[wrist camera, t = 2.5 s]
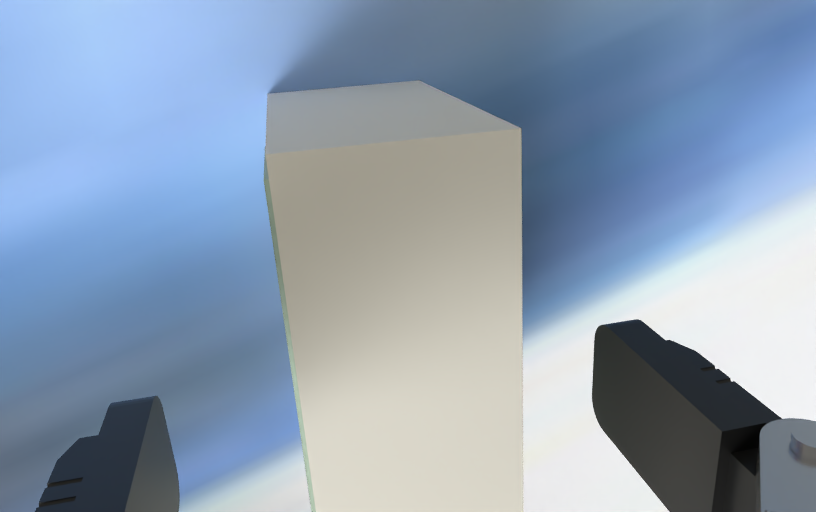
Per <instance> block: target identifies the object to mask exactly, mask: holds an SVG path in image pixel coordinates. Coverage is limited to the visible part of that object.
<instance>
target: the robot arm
mask: <svg viewBox="0 0 816 512" xmlns="http://www.w3.org/2000/svg"><path fill="white" fill-rule="evenodd" d="M592 402H593V408H594V412H595V415H596V418H597V421H598V423H599V425H600V426H601V428H602V429H603V431H604V432H605V433H606V434H607V436H608V437H609V438H610V439H611V441H612V442H613V443H614V444H615V445H616V447H617V448H618V449H619V450H620V452H621V453H622V454H623V455H624V456H625V458H626V459H627V460H628V461H629V463H630V464H631V465H632V466H633V467H634V469H635V470H636V471H637V472H638V474H639V475H640V476H641V477H642V478H643V480H644V481H645V482H646V483H647V485H648V486H649V487H650V488H651V489H652V491H653V492H654V493H655V494H656V496H657V497H658V498H659V499H660V500H661V502H662V503H663V504H664V505H665V507H666V508H667V509H668V510H669V511H670V512H816V421H811V420H806V419H795V418H788V419H782V418H780V417H779V416H778V415H776V414H775V413H774V412H773V411H771V410H770V409H769V408H768V407H766V406H765V405H764V404H762V403H761V402H760V401H759V400H757V399H756V398H755V397H754V396H752V395H751V394H750V393H748V392H747V391H746V390H745V389H743V388H742V387H741V386H740V385H738V384H737V383H736V382H734V381H733V382H731V380H730V378H729V377H728V376H727V375H726V374H724V373H723V372H722V371H720V370H719V369H715V366H714V365H713V364H712V363H710V362H709V361H708V360H707V359H705V358H704V357H703V356H701V355H700V354H699V353H698V352H696V351H694V350H692V349H690V348H687V347H685V346H683V345H680V344H678V343H676V342H673V341H671V340H667V341H666V340H664V339H663V338H662V337H661V336H660V335H658V334H657V333H656V332H655V331H653V330H652V329H651V328H650V327H649V326H647V325H646V324H645V323H644V322H642V321H641V320H630V321H624V322H618V323H611V324H605V325H601V326H599V327H598V328H597V330H596V333H595V341H594V364H593V386H592ZM47 485H48V487H47V488H45V490H44V492H43V494H42V497H41V499H40V501H39V508H36V511H35V512H178V511H179V481H178V474H177V469H176V464H175V460H174V455H173V451H172V447H171V442H170V438H169V433H168V429H167V425H166V420H165V416H164V412H163V407H162V404H161V401H160V399H159V397H158V396H152V397H146V398H140V399H134V400H128V401H121V402H115V403H111V404H110V405H109V408H108V410H107V413H106V416H105V419H104V421H103V424H102V427H101V430H100V432H99V435H96V436H91V437H85V438H79V439H78V440H77V441H76V442H75V443H74V444H73V445H72V446H71V447H70V448H69V449H68V450H67V451H66V452H65V453H64V454H63V455H62V456H61V457H60V458H59V459H58V460H57V462H56V464H55V467H54V469H53V471H52V474H51V476H50V478H49V481H48V483H47Z"/></svg>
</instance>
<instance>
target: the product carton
mask: <svg viewBox="0 0 816 512" xmlns="http://www.w3.org/2000/svg"><path fill="white" fill-rule="evenodd" d="M264 185H265V192H266V199H267V206H268V213H269V220H270V227H271V234H272V240H273V247H274V254H275V261H276V268H277V275H278V282H279V289H280V296H281V303H282V310H283V317H284V324H285V331H286V337H287V344H288V351H289V358H290V365H291V372H292V379H293V386H294V393H295V400H296V407H297V414H298V421H299V427H300V434H301V441H302V448H303V455H304V462H305V469H306V476H307V483H308V490H309V497H310V504H311V511H312V512H523V346H522V148H521V128H519V127H517V126H515V125H513V124H511V123H509V122H507V121H505V120H502V119H500V118H498V117H496V116H494V115H492V114H490V113H488V112H485V111H483V110H481V109H479V108H477V107H475V106H473V105H471V104H468V103H466V102H464V101H462V100H460V99H458V98H456V97H454V96H451V95H449V94H447V93H445V92H443V91H441V90H439V89H437V88H434V87H432V86H430V85H428V84H426V83H424V82H422V81H419V80H417V81H406V82H394V83H383V84H371V85H360V86H349V87H337V88H326V89H315V90H303V91H292V92H281V93H269V94H267V120H266V146H265V160H264Z"/></svg>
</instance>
